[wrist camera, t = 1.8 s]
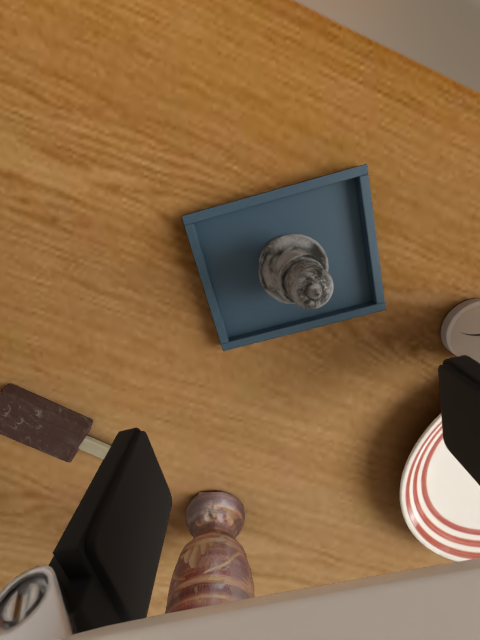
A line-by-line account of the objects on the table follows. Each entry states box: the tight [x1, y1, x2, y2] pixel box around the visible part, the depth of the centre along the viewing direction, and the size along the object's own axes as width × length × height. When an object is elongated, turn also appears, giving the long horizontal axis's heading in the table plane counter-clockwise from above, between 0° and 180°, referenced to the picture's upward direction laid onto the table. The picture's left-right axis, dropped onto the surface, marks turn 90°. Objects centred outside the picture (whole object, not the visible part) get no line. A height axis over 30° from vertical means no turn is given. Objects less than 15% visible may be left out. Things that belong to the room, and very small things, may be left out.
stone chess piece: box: [258, 234, 334, 309], centre depth 25 cm, size 6×6×12 cm
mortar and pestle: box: [165, 492, 254, 614], centre depth 32 cm, size 12×9×20 cm
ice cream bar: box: [0, 384, 111, 462], centre depth 36 cm, size 5×2×15 cm
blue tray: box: [182, 164, 386, 351], centre depth 30 cm, size 13×16×2 cm
